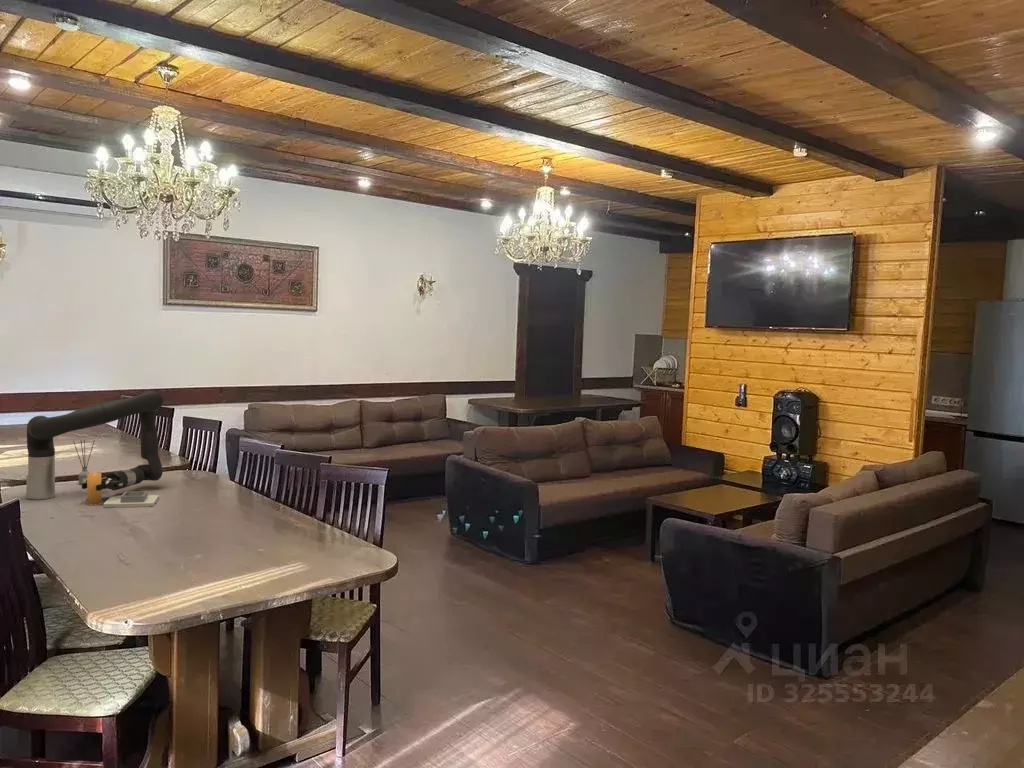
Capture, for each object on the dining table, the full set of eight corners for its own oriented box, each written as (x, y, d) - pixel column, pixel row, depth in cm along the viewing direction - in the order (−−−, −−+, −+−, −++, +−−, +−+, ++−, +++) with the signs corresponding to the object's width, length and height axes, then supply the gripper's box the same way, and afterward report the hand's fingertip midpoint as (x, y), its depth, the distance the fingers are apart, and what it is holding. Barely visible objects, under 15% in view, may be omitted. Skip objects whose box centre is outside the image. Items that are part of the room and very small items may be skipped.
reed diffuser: (73, 485, 328) (73, 440, 327) (71, 482, 334) (71, 438, 332) (100, 483, 335) (100, 439, 333) (97, 480, 340) (97, 437, 339)
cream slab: (103, 507, 295) (103, 497, 295) (111, 499, 308) (111, 489, 308) (153, 506, 300) (153, 497, 300) (159, 498, 314) (159, 489, 313)
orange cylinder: (85, 504, 298) (85, 475, 297) (88, 501, 303) (88, 472, 302) (99, 504, 300) (99, 475, 299) (102, 501, 304) (102, 472, 303)
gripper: (107, 468, 316) (74, 476, 300) (135, 472, 312) (104, 479, 296) (107, 486, 317) (74, 494, 301) (135, 489, 313) (104, 498, 297)
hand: (89, 487), depth 299 cm, fingers open, 6 cm apart
